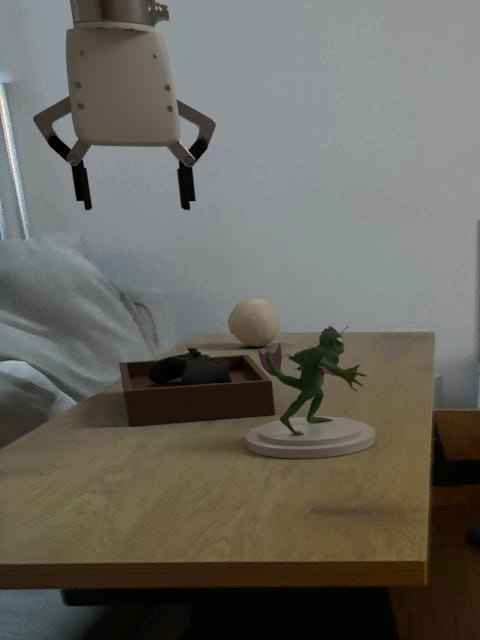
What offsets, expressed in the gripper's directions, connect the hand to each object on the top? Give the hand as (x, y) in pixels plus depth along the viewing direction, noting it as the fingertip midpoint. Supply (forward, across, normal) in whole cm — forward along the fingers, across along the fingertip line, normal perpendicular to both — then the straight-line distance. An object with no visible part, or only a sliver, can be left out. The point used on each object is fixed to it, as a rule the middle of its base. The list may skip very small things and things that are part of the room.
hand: (137, 209), depth 102 cm
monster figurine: (+19, -12, +25) cm, 34 cm away
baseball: (+20, -15, -34) cm, 42 cm away
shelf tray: (+20, -3, +4) cm, 20 cm away
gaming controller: (+18, -3, +4) cm, 18 cm away
